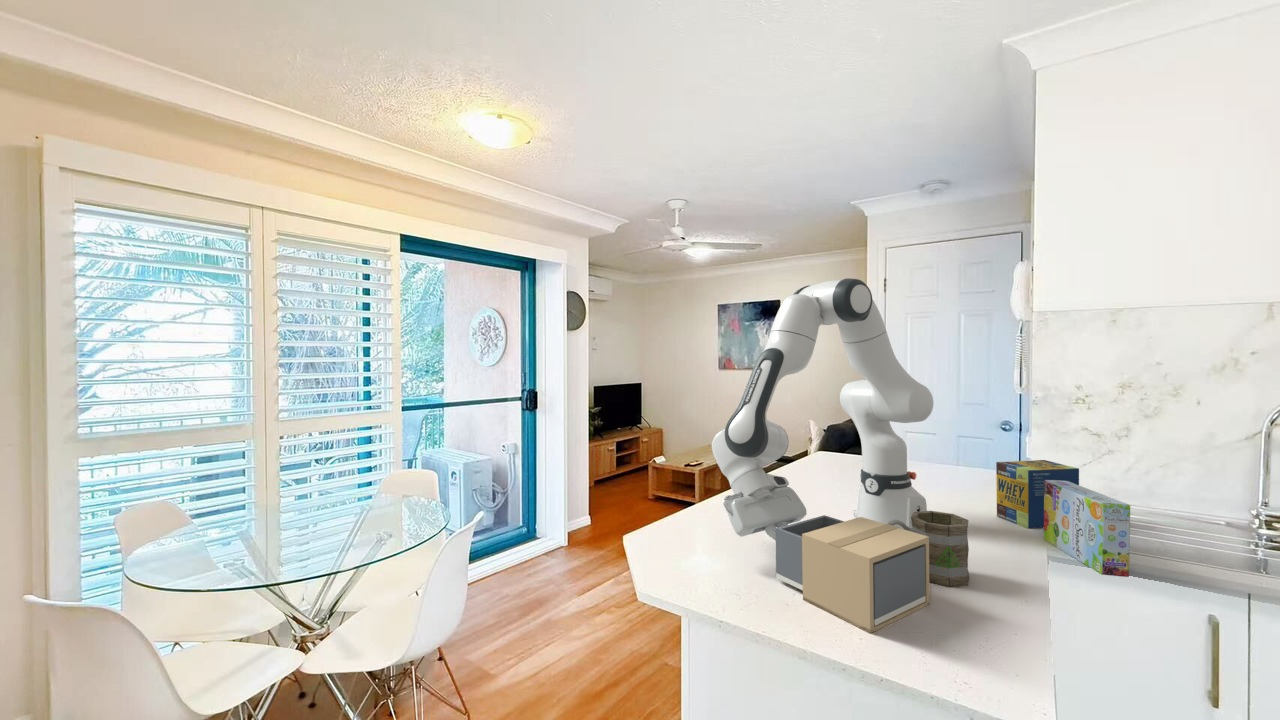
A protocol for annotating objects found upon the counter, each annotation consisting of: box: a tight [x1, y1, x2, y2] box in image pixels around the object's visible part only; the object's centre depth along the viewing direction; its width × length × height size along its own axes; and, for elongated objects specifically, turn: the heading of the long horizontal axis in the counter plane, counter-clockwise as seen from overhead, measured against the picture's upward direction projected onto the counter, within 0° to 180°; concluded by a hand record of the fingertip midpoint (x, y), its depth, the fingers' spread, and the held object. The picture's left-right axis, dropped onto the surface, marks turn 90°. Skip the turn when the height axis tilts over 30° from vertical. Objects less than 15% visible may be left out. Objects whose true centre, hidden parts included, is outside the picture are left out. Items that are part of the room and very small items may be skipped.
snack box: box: [1043, 480, 1131, 578], centre depth 114 cm, size 21×6×15 cm, turn 168°
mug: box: [888, 510, 970, 589], centre depth 106 cm, size 16×11×12 cm
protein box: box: [995, 459, 1080, 529], centre depth 138 cm, size 10×15×16 cm
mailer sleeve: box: [802, 517, 931, 634], centre depth 95 cm, size 18×14×13 cm
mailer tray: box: [775, 514, 925, 625], centre depth 98 cm, size 15×22×10 cm
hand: (786, 544), depth 111 cm, fingers closed
